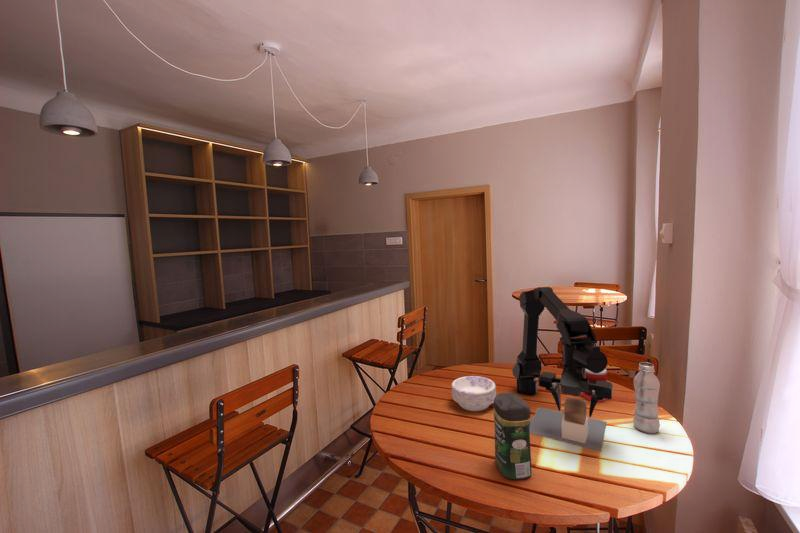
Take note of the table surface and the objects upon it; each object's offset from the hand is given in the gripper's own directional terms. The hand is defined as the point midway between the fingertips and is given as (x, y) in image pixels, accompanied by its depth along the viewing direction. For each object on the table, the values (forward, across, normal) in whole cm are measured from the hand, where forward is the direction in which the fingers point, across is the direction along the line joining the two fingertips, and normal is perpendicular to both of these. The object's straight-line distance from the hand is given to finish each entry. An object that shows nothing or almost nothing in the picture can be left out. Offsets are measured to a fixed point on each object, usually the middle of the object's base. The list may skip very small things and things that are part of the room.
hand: (574, 413), depth 102 cm
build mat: (+7, -3, +4) cm, 9 cm away
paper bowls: (+8, -33, +5) cm, 34 cm away
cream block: (+7, 0, 0) cm, 7 cm away
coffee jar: (+7, -11, -23) cm, 27 cm away
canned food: (+8, +2, +30) cm, 31 cm away
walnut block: (+2, 0, 0) cm, 2 cm away
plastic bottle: (+7, +17, +14) cm, 23 cm away
